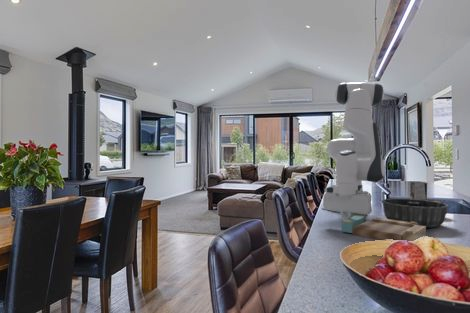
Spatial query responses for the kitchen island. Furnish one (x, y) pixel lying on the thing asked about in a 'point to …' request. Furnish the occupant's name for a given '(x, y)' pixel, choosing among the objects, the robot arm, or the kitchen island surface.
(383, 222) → the tan box with knobs
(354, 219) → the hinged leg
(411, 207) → the bundt pan
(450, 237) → the kitchen island surface
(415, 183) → the coffee box
